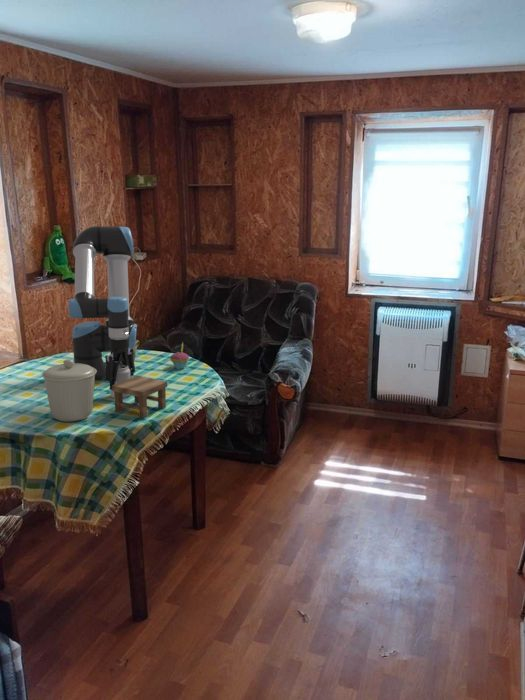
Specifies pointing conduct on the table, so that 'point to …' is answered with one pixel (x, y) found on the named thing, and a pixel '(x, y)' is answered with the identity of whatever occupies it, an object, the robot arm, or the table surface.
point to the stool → (140, 393)
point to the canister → (70, 390)
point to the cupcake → (179, 359)
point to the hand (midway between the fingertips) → (121, 394)
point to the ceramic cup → (135, 349)
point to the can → (123, 375)
